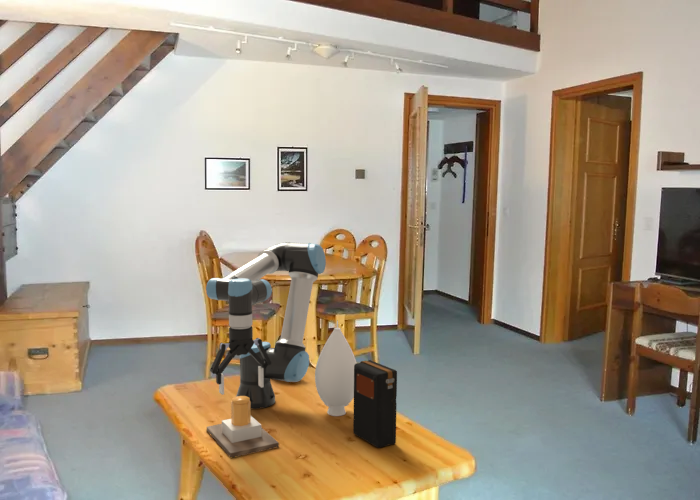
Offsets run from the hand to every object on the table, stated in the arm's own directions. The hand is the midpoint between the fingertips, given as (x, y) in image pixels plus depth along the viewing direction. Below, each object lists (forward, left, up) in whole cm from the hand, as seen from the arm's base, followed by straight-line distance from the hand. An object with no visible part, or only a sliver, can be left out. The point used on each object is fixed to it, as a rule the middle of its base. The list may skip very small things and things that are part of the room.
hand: (241, 389), depth 195 cm
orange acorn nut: (0, 0, -11) cm, 11 cm away
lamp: (-39, -5, -17) cm, 43 cm away
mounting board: (0, 0, -17) cm, 17 cm away
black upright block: (-38, +22, -17) cm, 47 cm away
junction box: (0, 0, -15) cm, 15 cm away
